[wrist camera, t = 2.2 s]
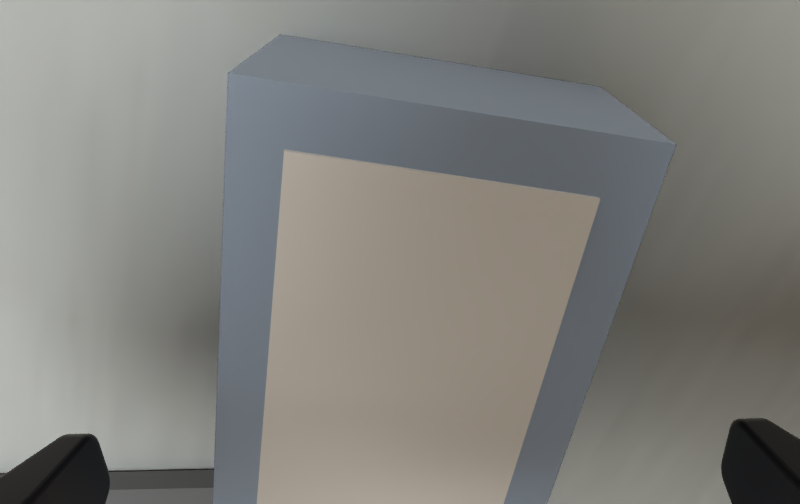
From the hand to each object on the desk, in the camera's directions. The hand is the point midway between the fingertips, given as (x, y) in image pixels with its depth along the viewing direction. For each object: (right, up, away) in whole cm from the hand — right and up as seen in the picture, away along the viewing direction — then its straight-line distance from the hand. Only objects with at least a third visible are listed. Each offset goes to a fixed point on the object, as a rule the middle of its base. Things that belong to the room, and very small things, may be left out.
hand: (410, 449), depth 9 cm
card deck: (0, +2, +5) cm, 6 cm away
